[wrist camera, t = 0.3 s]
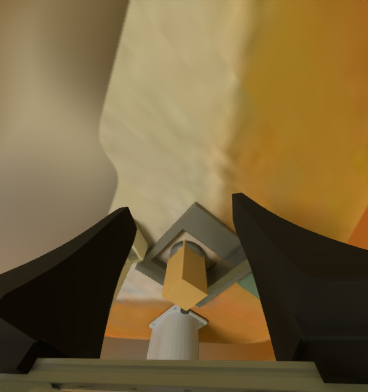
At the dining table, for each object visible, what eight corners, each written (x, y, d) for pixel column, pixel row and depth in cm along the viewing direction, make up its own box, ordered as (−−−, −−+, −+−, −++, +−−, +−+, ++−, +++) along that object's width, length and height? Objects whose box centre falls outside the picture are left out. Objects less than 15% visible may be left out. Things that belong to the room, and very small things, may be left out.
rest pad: (264, 300, 29) (265, 302, 28) (237, 282, 27) (238, 284, 27) (300, 278, 26) (302, 280, 26) (273, 256, 25) (274, 258, 24)
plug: (188, 270, 27) (187, 315, 20) (164, 254, 26) (154, 296, 19) (209, 252, 25) (215, 295, 19) (184, 235, 24) (181, 273, 18)
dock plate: (199, 301, 29) (199, 307, 28) (137, 262, 27) (134, 268, 25) (263, 254, 25) (266, 260, 23) (195, 201, 22) (195, 205, 21)
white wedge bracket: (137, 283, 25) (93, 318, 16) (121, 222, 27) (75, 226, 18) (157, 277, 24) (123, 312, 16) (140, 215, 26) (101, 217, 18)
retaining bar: (186, 296, 27) (185, 315, 24) (179, 292, 27) (178, 311, 24) (254, 243, 22) (263, 259, 19) (248, 238, 22) (256, 253, 19)
